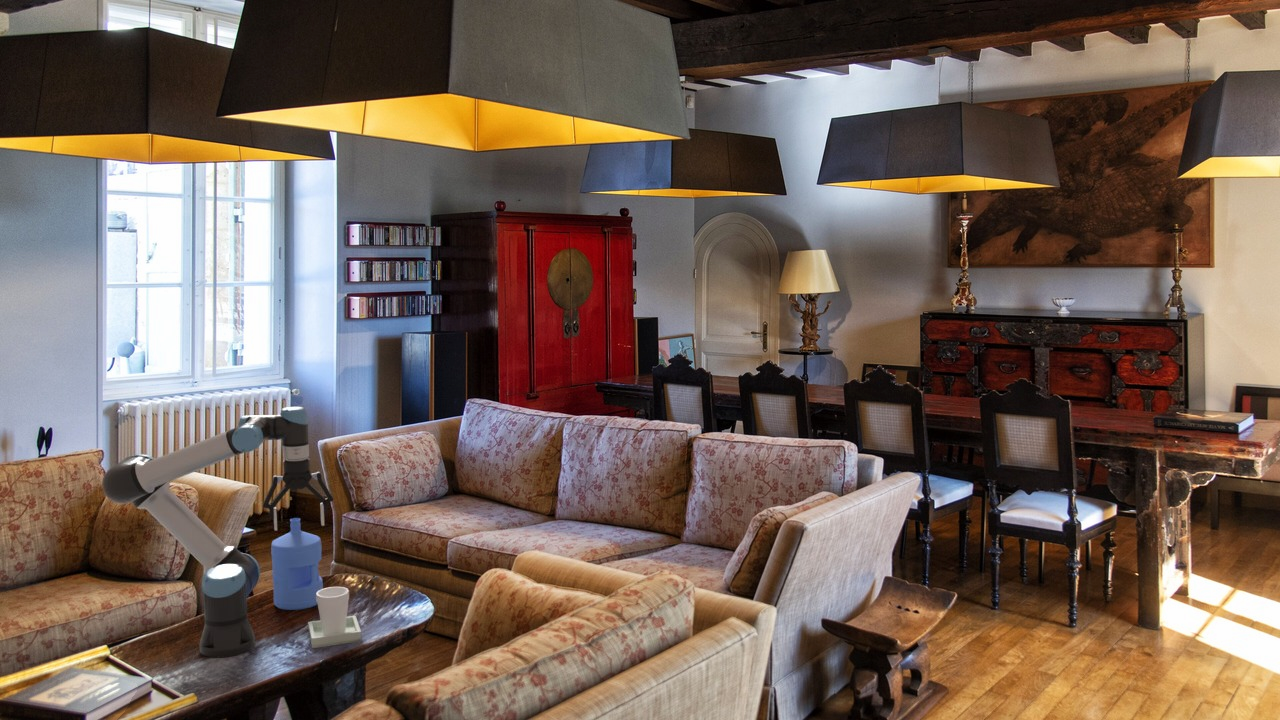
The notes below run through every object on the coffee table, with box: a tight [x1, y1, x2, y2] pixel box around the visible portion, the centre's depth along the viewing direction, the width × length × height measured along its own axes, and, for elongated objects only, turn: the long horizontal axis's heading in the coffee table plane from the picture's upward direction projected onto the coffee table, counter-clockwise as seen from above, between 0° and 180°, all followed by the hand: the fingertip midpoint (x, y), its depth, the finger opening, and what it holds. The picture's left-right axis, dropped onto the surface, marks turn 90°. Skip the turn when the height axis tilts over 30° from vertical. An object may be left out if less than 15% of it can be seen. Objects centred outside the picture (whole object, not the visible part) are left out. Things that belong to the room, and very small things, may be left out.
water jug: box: [270, 517, 324, 611], centre depth 346 cm, size 16×16×28 cm
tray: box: [307, 615, 362, 649], centre depth 319 cm, size 14×14×3 cm
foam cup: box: [316, 586, 350, 636], centre depth 318 cm, size 10×9×13 cm
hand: (299, 527), depth 322 cm, fingers open, 13 cm apart
